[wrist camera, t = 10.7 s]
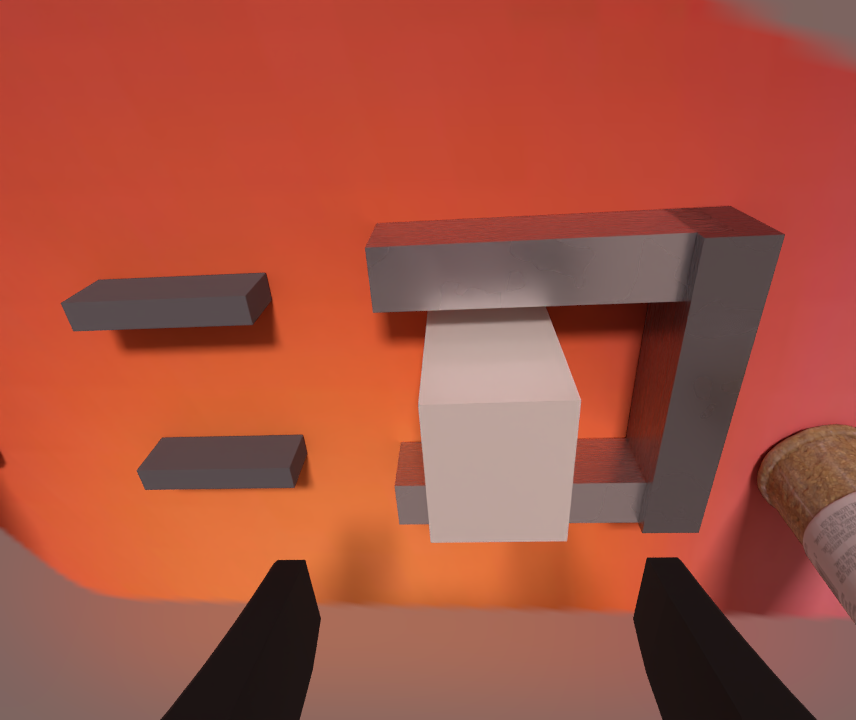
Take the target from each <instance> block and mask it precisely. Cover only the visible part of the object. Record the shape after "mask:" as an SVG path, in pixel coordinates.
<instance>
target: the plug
mask: <svg viewBox="0 0 856 720" xmlns="http://www.w3.org/2000/svg"><path fill="white" fill-rule="evenodd" d="M580 406H581V399H580V396H579V393H578V391H577V388H576V385H575V383H574V380H573V377H572V375H571V372H570V370H569V367H568V364H567V362H566V359H565V356H564V354H563V351H562V348H561V346H560V343H559V340H558V338H557V335H556V332H555V330H554V327H553V325H552V322H551V319H550V317H549V314H548V311H547V309H546V306H540V307H513V308H486V309H458V310H431V311H428V314H427V324H426V334H425V343H424V353H423V363H422V373H421V383H420V392H419V402H418V408H419V419H420V430H421V441H422V452H423V463H424V474H425V485H426V495H427V506H428V517H429V528H430V539H431V543H440V542H531V541H567V536H568V526H569V516H570V506H571V496H572V486H573V476H574V466H575V456H576V446H577V436H578V426H579V416H580Z"/></svg>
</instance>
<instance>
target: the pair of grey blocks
mask: <svg viewBox="0 0 856 720" xmlns="http://www.w3.org/2000/svg"><path fill="white" fill-rule="evenodd" d="M271 300H272V298H271V294H270V289H269V285H268V280H267V276H266V273H248V274H224V275H201V276H178V277H154V278H131V279H107V280H98V281H96V282H94V283H93V284H91V285H89V286H88V287H86V288H84V289H83V290H81V291H80V292H78V293H76V294H75V295H73V296H71V297H70V298H68V299H67V300H65V301H63V302H62V303H61V305H62V307H63V309H64V311H65V314H66V316H67V318H68V320H69V322H70V325H71V327H72V329H73V331H95V330H123V329H151V328H179V327H207V326H235V325H253V324H254V322H255V321H256V320H257V319H258V317H259V316H260V315H261V313H262V312H263V311H264V309H265V308H266V307H267V305H268V304H269V303H270V302H271ZM306 456H307V450H306V446H305V442H304V437H303V435H268V436H219V437H170V438H162V439H161V440H160V441H159V442H158V444H157V445H156V446H155V448H154V449H153V450H152V451H151V453H150V454H149V455H148V457H147V458H146V459H145V460H144V462H143V463H142V464H141V466H140V467H139V468H138V469H137V472H138V475H139V477H140V479H141V481H142V484H143V486H144V488H145V490H165V489H240V488H295V485H296V482H297V480H298V477H299V474H300V472H301V469H302V466H303V464H304V461H305V458H306Z"/></svg>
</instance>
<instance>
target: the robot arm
mask: <svg viewBox="0 0 856 720" xmlns="http://www.w3.org/2000/svg"><path fill="white" fill-rule="evenodd" d="M320 620H321V617H320V614H319V610H318V606H317V602H316V599H315V595H314V591H313V587H312V584H311V580H310V576H309V572H308V569H307V565H306V561H305V560H277V561H276V562H275V563H274V564H273V566H272V567H271V569H270V570H269V572H268V573H267V575H266V576H265V578H264V580H263V581H262V583H261V584H260V586H259V587H258V589H257V590H256V592H255V593H254V595H253V596H252V598H251V599H250V601H249V602H248V604H247V605H246V607H245V608H244V609H243V611H242V613H241V614H240V615H239V617H238V618H237V620H236V621H235V623H234V624H233V626H232V627H231V628H230V630H229V631H228V633H227V634H226V635H225V637H224V638H223V639H222V641H221V642H220V643H219V645H218V646H217V648H216V649H215V650H214V652H213V653H212V655H211V656H210V657H209V659H208V660H207V661H206V663H205V664H204V665H203V667H202V668H201V670H200V671H199V672H198V673H197V675H196V676H195V677H194V678H193V680H192V681H191V682H190V683H189V685H188V686H187V687H186V689H185V690H184V691H183V692H182V694H181V695H180V696H179V698H178V699H177V700H176V701H175V703H174V704H173V705H172V707H171V708H170V709H169V710H168V711H167V713H166V714H165V715H164V716H163V717H162V719H161V720H300V716H301V712H302V708H303V705H304V701H305V697H306V693H307V690H308V685H309V682H310V678H311V674H312V670H313V664H314V658H315V653H316V647H317V640H318V633H319V627H320ZM633 620H634V624H635V628H636V633H637V637H638V642H639V646H640V650H641V654H642V658H643V661H644V666H645V670H646V673H647V676H648V679H649V682H650V685H651V688H652V691H653V693H654V696H655V699H656V702H657V705H658V708H659V711H660V714H661V716H662V719H663V720H816V718H815V717H814V716H813V715H812V714H811V713H810V712H809V711H808V710H807V709H806V708H805V707H804V705H803V704H802V703H801V702H800V701H799V700H798V699H797V698H796V697H795V696H794V695H793V694H792V693H791V692H790V690H789V689H788V688H787V687H786V686H785V685H784V684H783V683H782V681H781V680H780V679H779V678H778V677H777V676H776V675H775V674H774V673H773V671H772V670H771V669H770V668H769V667H768V666H767V665H766V663H765V662H764V661H763V660H762V659H761V658H760V657H759V655H758V654H757V653H756V652H755V651H754V650H753V648H752V647H751V646H750V645H749V644H748V643H747V642H746V640H745V639H744V638H743V637H742V636H741V634H740V633H739V632H738V631H737V630H736V629H735V627H734V626H733V625H732V624H731V623H730V621H729V620H728V619H727V618H726V616H725V615H724V614H723V613H722V612H721V610H720V609H719V608H718V607H717V605H716V604H715V603H714V602H713V600H712V599H711V598H710V597H709V596H708V594H707V593H706V592H705V590H704V589H703V588H702V587H701V585H700V584H699V583H698V582H697V580H696V579H695V578H694V577H693V575H692V574H691V573H690V571H689V570H688V569H687V568H686V566H685V565H684V564H683V562H682V561H681V560H680V559H679V558H677V557H672V558H647V560H646V564H645V569H644V573H643V577H642V582H641V586H640V591H639V595H638V600H637V604H636V608H635V613H634V617H633Z"/></svg>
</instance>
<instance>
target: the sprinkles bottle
mask: <svg viewBox="0 0 856 720" xmlns="http://www.w3.org/2000/svg"><path fill="white" fill-rule="evenodd" d="M757 485H758V488H759V490H760V491H761V494H762V496H763V497H764V498H765V499H766V500H767V502H768V503H769V504H770V505H772V506H773V507H774V508H776V509H777V510H778V512H779V513H780V514H781V516H782V517H783V519H784V520H785V522H786V523H787V524H788V526H789V527H790V528H791V530H792V531H793V533H794V534H795V535H796V537H797V538H798V540H799V541H800V543H801V544H802V545H803V547H804V550H805V553H806V555H807V557H808V558H809V560H810V561H811V562H812V564H813V565H814V567H815V568H816V570H817V571H818V572H819V574H820V575H821V577H822V578H823V580H824V581H825V582H826V584H827V585H828V587H829V588H830V589H831V591H832V592H833V594H834V595H835V596H836V598H837V599H838V601H839V602H840V603H841V605H842V606H843V608H844V609H845V610H846V612H847V613H848V615H849V616H850V617H851V619H852V620H853V622H854V623H855V624H856V427H852V426H848V425H838V424H833V425H822V426H818V427H813V428H809V429H806V430H803V431H801V432H799V433H797V434H795V435H793V436H791V437H789V438H787V439H785V440H783V441H782V442H780V443H779V444H777V445H776V446H775V447H774V448H773V449H772V450H771V451H769V452H768V453H767V455H766V456H765V458H764V459H763V461H762V463H761V466H760V468H759V470H758V478H757Z"/></svg>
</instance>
